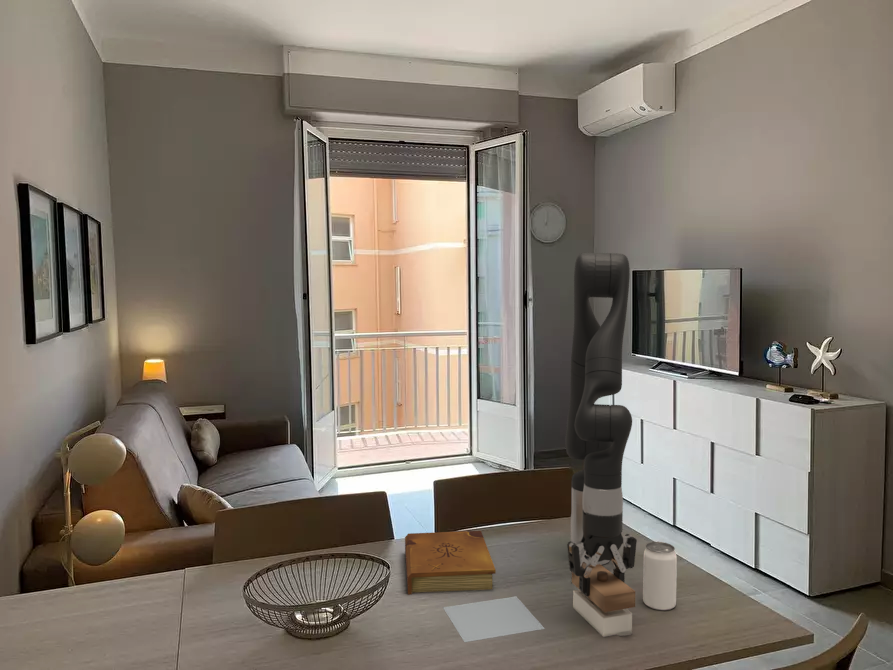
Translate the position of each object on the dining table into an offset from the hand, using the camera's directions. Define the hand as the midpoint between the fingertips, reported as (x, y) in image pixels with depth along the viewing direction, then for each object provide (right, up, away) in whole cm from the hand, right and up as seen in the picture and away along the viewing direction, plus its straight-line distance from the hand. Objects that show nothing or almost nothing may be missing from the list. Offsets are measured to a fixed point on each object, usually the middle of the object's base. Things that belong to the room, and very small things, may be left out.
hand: (601, 591), depth 131 cm
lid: (0, 0, 0) cm, 0 cm away
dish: (0, -6, 0) cm, 6 cm away
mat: (-21, -6, +1) cm, 22 cm away
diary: (-30, -5, +24) cm, 39 cm away
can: (+14, -6, +8) cm, 17 cm away
